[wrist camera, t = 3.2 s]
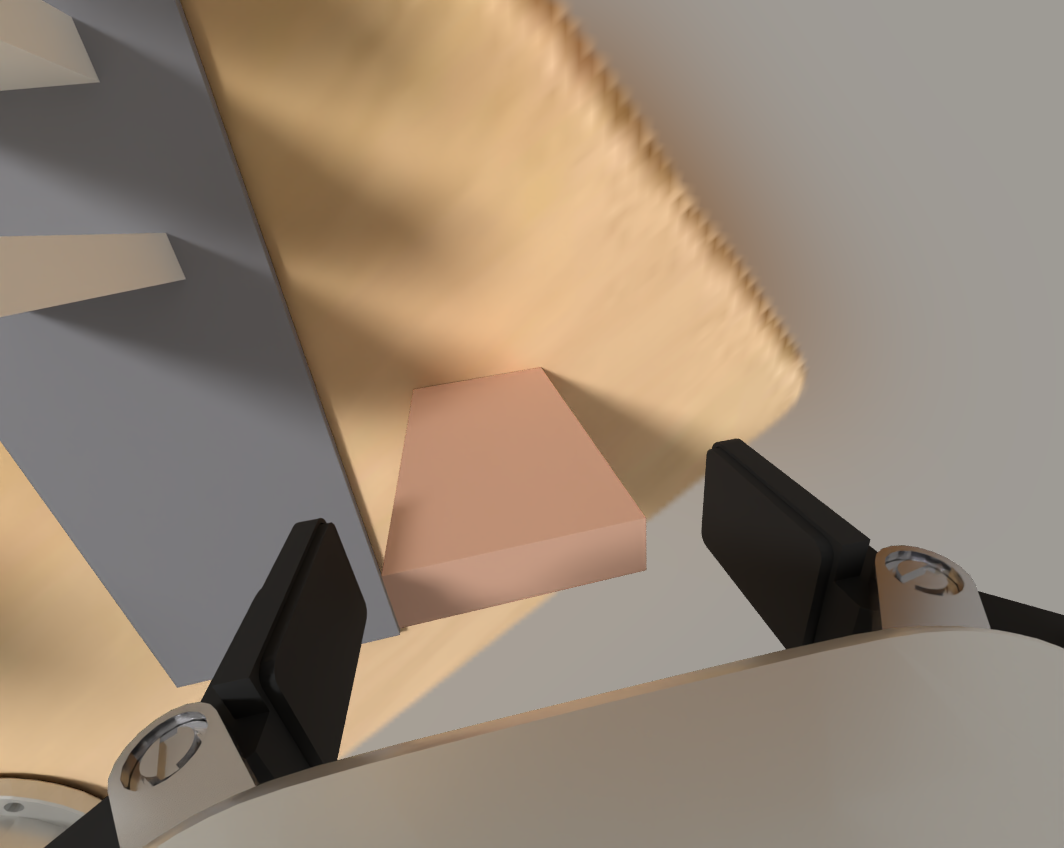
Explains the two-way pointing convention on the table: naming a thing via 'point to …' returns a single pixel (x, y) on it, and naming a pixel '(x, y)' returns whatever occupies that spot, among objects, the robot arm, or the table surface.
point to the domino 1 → (40, 47)
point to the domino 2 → (80, 268)
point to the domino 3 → (502, 501)
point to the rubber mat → (163, 351)
